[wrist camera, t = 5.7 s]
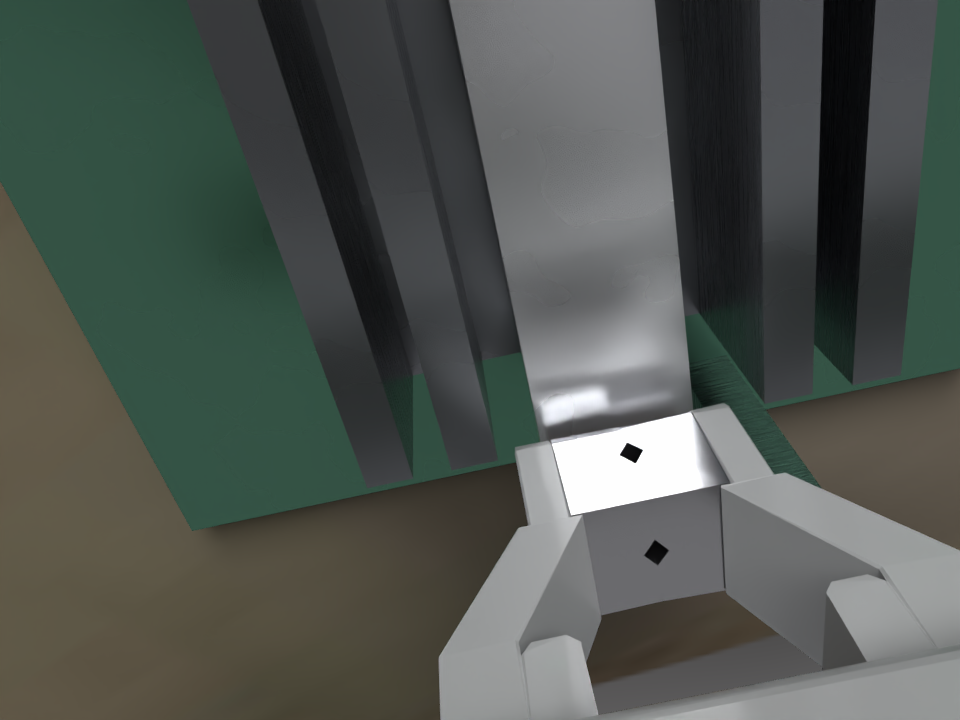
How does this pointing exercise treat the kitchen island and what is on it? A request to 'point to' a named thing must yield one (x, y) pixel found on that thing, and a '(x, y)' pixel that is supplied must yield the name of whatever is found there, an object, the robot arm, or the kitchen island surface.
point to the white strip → (581, 204)
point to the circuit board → (457, 225)
